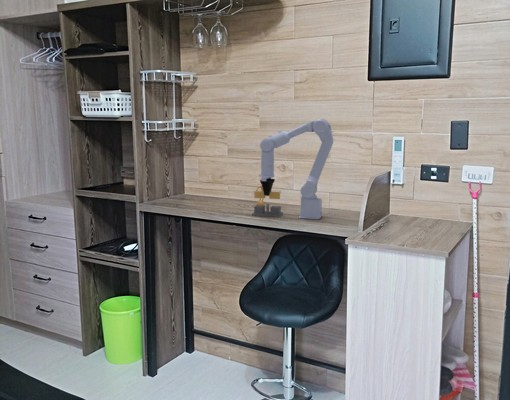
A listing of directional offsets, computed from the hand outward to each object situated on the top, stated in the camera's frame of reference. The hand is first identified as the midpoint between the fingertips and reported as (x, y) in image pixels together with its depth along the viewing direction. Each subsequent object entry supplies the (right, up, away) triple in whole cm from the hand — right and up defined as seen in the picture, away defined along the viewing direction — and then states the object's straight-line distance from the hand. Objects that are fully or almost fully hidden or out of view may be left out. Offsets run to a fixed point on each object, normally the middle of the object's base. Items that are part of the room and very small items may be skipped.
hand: (267, 195), depth 236 cm
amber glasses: (0, -1, +1) cm, 2 cm away
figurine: (-2, -6, +19) cm, 20 cm away
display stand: (0, -9, +2) cm, 9 cm away
